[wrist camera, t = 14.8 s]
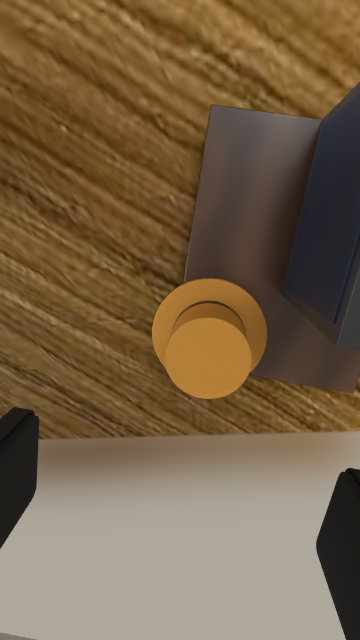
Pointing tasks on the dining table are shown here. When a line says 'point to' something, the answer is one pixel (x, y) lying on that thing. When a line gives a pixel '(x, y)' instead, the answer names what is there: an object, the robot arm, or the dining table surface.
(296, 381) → the brown flat slab
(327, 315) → the dark grey block
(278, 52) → the dining table surface
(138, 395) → the dining table surface
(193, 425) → the dining table surface
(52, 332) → the dining table surface
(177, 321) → the hat
